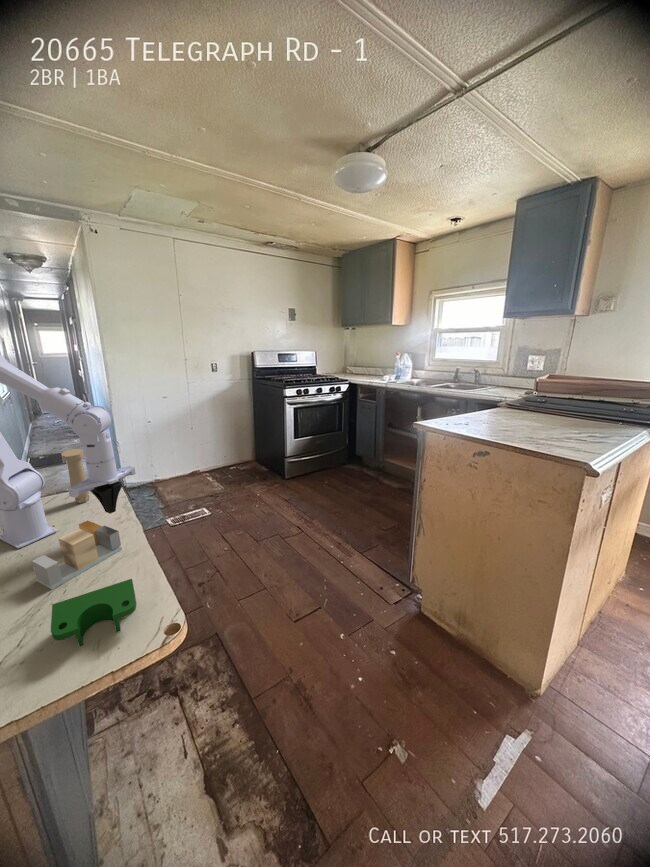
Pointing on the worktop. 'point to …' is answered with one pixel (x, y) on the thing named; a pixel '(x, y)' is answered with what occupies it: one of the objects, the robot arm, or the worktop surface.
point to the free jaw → (102, 534)
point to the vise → (64, 568)
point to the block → (78, 549)
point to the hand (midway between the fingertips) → (110, 511)
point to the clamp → (92, 610)
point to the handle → (76, 470)
